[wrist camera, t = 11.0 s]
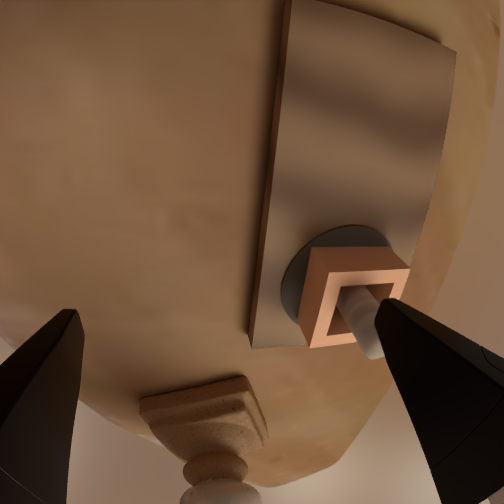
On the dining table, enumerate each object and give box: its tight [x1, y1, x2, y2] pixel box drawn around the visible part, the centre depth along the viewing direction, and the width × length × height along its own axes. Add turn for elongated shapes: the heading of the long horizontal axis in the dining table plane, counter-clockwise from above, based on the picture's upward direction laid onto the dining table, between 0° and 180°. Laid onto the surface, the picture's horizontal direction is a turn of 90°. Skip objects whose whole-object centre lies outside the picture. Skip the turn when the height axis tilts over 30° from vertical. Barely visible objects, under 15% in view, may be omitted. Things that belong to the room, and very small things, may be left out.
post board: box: [248, 0, 456, 359], centre depth 18 cm, size 24×12×8 cm, turn 175°
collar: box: [297, 246, 411, 348], centre depth 21 cm, size 6×6×3 cm
